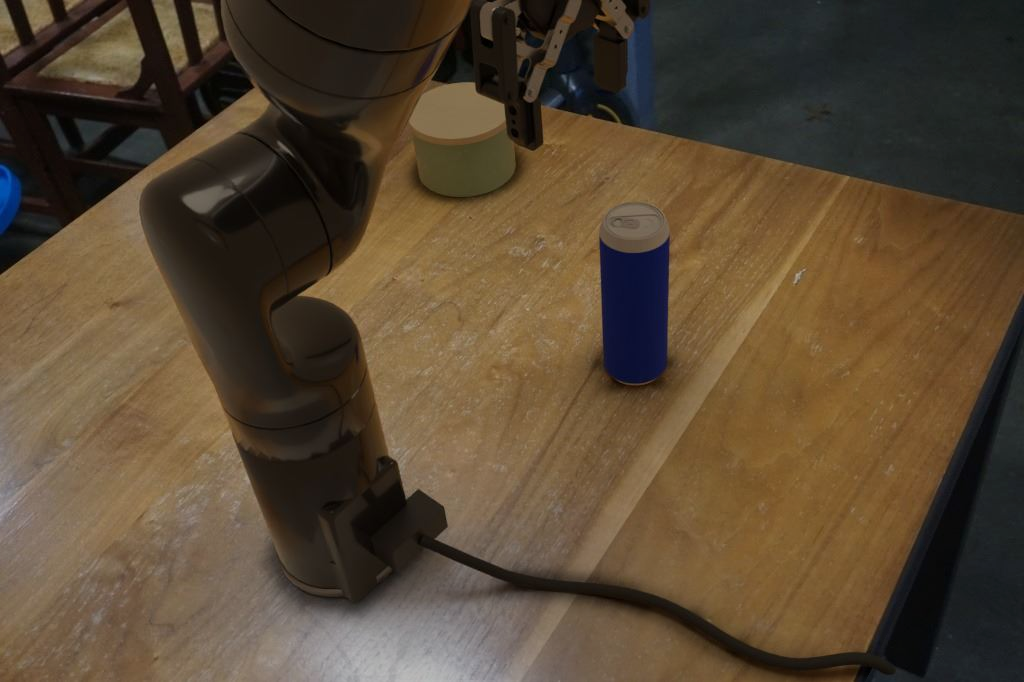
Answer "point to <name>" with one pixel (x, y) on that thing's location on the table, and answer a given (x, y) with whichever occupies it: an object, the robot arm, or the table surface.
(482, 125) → the cookie tin
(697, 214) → the table surface
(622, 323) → the beverage can
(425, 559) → the table surface
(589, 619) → the table surface
